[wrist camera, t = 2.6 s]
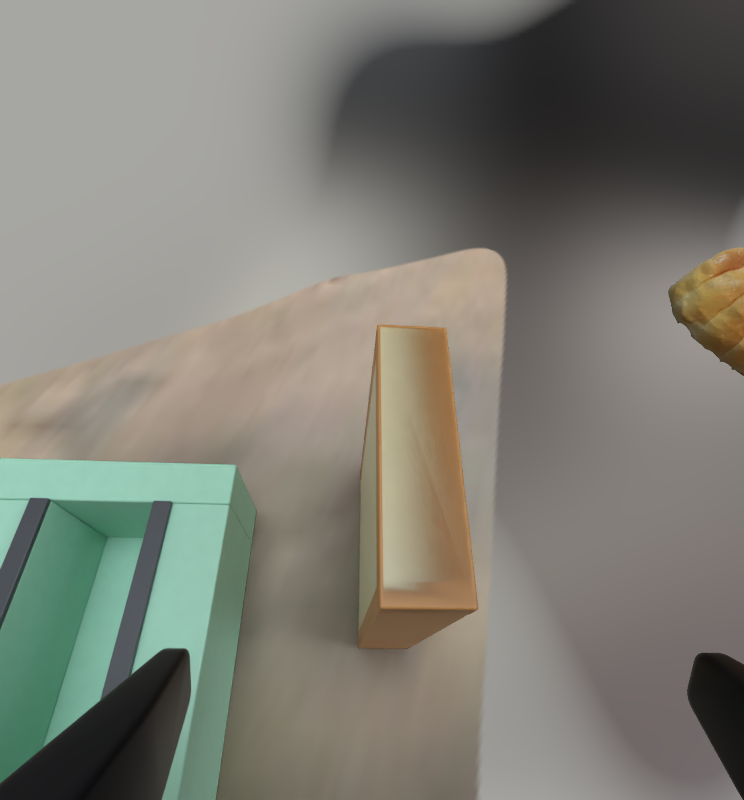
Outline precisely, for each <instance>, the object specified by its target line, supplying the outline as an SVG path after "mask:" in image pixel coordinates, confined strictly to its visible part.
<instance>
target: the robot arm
mask: <svg viewBox="0 0 744 800" xmlns="http://www.w3.org/2000/svg"><path fill="white" fill-rule="evenodd" d="M687 692H688V693H687V694H688V700H689V703H690V705H691V707H692V709H693V711H694V713H695V715H696V716H697V718H698V720H699V722H700V724H701V725H702V727H703V729H704V731H705V732H706V734H707V736H708V738H709V740H710V742H711V744H712V745H713V747H714V749H715V751H716V753H717V754H718V756H719V758H720V760H721V762H722V763H723V765H724V767H725V769H726V771H727V772H728V774H729V776H730V778H731V779H732V781H733V783H734V785H735V787H736V789H737V790H738V792H739V794H740V796H741V797H742V799H743V800H744V664H742V663H740V662H738V661H736V660H734V659H733V658H731V657H729V656H727V655H725V654H721V653H700V654H698V655H697V656H696V657H695V660H694V664H693V668H692V672H691V676H690V680H689V685H688V689H687ZM190 697H191V671H190V654H189V651H188V650H187V649H185V648H165V649H162V650H161V651H159V652H158V653H157V654H156V655H154V656H153V657H152V658H151V659H149V660H148V661H147V662H146V663H145V664H143V665H142V666H141V667H140V668H139V669H137V670H136V671H135V672H134V673H133V674H131V675H130V676H129V677H128V678H127V679H125V680H124V681H123V682H122V683H120V684H119V685H118V686H117V687H116V688H114V689H113V690H112V691H111V692H110V693H108V694H107V695H106V696H105V697H104V698H102V699H101V700H100V701H99V702H98V703H96V704H95V705H94V706H93V707H91V708H90V709H89V710H88V711H87V712H85V713H84V714H83V715H82V716H81V717H79V718H78V719H77V720H76V721H75V722H73V723H72V724H71V725H70V726H68V727H67V728H66V729H65V730H64V731H62V732H61V733H60V734H59V735H58V736H56V737H55V738H54V739H53V740H52V741H50V742H49V743H48V744H47V745H46V746H44V747H43V748H42V749H41V750H39V751H38V752H37V753H36V754H35V755H33V756H32V757H31V758H30V759H29V760H27V761H26V762H25V763H24V764H23V765H21V766H20V767H19V768H18V769H17V770H15V771H14V772H13V773H12V774H10V775H9V776H8V777H7V778H6V779H4V780H3V781H2V782H1V783H0V800H162V797H163V794H164V790H165V787H166V783H167V780H168V776H169V773H170V769H171V766H172V762H173V759H174V755H175V752H176V748H177V745H178V741H179V738H180V734H181V731H182V727H183V724H184V720H185V717H186V713H187V710H188V706H189V702H190Z"/></svg>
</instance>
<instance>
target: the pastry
mask: <svg viewBox="0 0 744 800" xmlns="http://www.w3.org/2000/svg"><path fill="white" fill-rule="evenodd" d="M668 292H669V297H670V302H671V306H672V311H673V315H674V316H675V318H676V320H677V322H678V323H682V324H684V325H685V326H686V327H687V328H688V329H689V331H690V333H691V336H692V337H693V338H694V339H695V340H696V341H697V342H699V343H700V344H701V345H703V347H704V348H705V349H708V350H710V351H712V352H713V353H714V354H715V355H716V356H717V357H718V358H719V359H720V361H721V362H725V363H727V364H729V365H730V366H731V367H732V369H733V370H736V371H737V372H739V373H740V374H742V375H743V376H744V249H743V248H733V249H729V250H726V251H722V252H720V253H718V254H717V255H716V256H714V257H713V258H712V259H710V260H707V261H705V262H703V263H702V264H700V265H699V266H697V267H696V268H695V269H693V270H692V271H690V272H689V273H688V274H686V275H685V276H683V277H682V278H681V279H680V280H679V281H678V282H677V283H676V284H674V285H672V286H671V287H670V289H669V291H668Z"/></svg>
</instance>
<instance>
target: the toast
mask: <svg viewBox="0 0 744 800" xmlns="http://www.w3.org/2000/svg"><path fill="white" fill-rule="evenodd" d="M360 480H361V500H360V568H359V632H358V648H376V649H408V648H410V647H411V646H413V645H415V644H417V643H419V642H420V641H422V640H424V639H426V638H427V637H429V636H431V635H433V634H434V633H436V632H438V631H440V630H441V629H443V628H445V627H447V626H449V625H450V624H452V623H454V622H456V621H457V620H459V619H461V618H463V617H464V616H466V615H468V614H471V613H472V612H474V611H476V610H478V602H477V594H476V585H475V576H474V567H473V559H472V550H471V541H470V532H469V524H468V515H467V506H466V497H465V489H464V480H463V471H462V462H461V454H460V445H459V436H458V427H457V418H456V410H455V401H454V392H453V383H452V375H451V366H450V357H449V348H448V340H447V331H446V328H439V327H417V326H395V325H378V326H377V331H376V341H375V349H374V358H373V367H372V375H371V384H370V393H369V402H368V410H367V419H366V428H365V436H364V445H363V454H362V462H361V472H360Z"/></svg>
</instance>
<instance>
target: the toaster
mask: <svg viewBox="0 0 744 800" xmlns="http://www.w3.org/2000/svg"><path fill="white" fill-rule="evenodd" d="M255 517H256V509H255V507H254V504H253V502H252V500H251V498H250V495H249V493H248V491H247V489H246V486H245V484H244V482H243V479H242V477H241V475H240V473H239V470H238V468H237V466H236V465H224V464H188V463H153V462H118V461H82V460H47V459H12V458H0V783H1V782H2V781H3V780H4V779H6V778H7V777H8V776H9V775H10V774H12V773H13V772H14V771H15V770H17V769H18V768H19V767H20V766H21V765H23V764H24V763H25V762H26V761H27V760H29V759H30V758H31V757H32V756H33V755H35V754H36V753H37V752H38V751H39V750H41V749H42V748H43V747H44V746H46V745H47V744H48V743H49V742H50V741H52V740H53V739H54V738H55V737H56V736H58V735H59V734H60V733H61V732H62V731H64V730H65V729H66V728H67V727H68V726H70V725H71V724H72V723H73V722H75V721H76V720H77V719H78V718H79V717H81V716H82V715H83V714H84V713H85V712H87V711H88V710H89V709H90V708H91V707H93V706H94V705H95V704H96V703H98V702H99V701H100V700H101V699H102V698H104V697H105V696H106V695H107V694H108V693H110V692H111V691H112V690H113V689H114V688H116V687H117V686H118V685H119V684H120V683H122V682H123V681H124V680H125V679H127V678H128V677H129V676H130V675H131V674H133V673H134V672H135V671H136V670H137V669H139V668H140V667H141V666H142V665H143V664H145V663H146V662H147V661H148V660H149V659H151V658H152V657H153V656H154V655H156V654H157V653H158V652H159V651H161V650H162V649H165V648H185V649H187V650H188V651H189V654H190V671H191V697H190V702H189V706H188V710H187V713H186V717H185V720H184V724H183V727H182V731H181V734H180V738H179V741H178V745H177V748H176V752H175V755H174V759H173V762H172V766H171V769H170V773H169V776H168V780H167V783H166V787H165V790H164V794H163V797H162V800H216V795H217V788H218V780H219V773H220V766H221V759H222V752H223V745H224V738H225V731H226V723H227V716H228V709H229V702H230V695H231V688H232V681H233V674H234V666H235V659H236V652H237V645H238V638H239V631H240V624H241V617H242V609H243V602H244V595H245V588H246V581H247V574H248V567H249V559H250V552H251V545H252V538H253V531H254V524H255Z"/></svg>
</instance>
